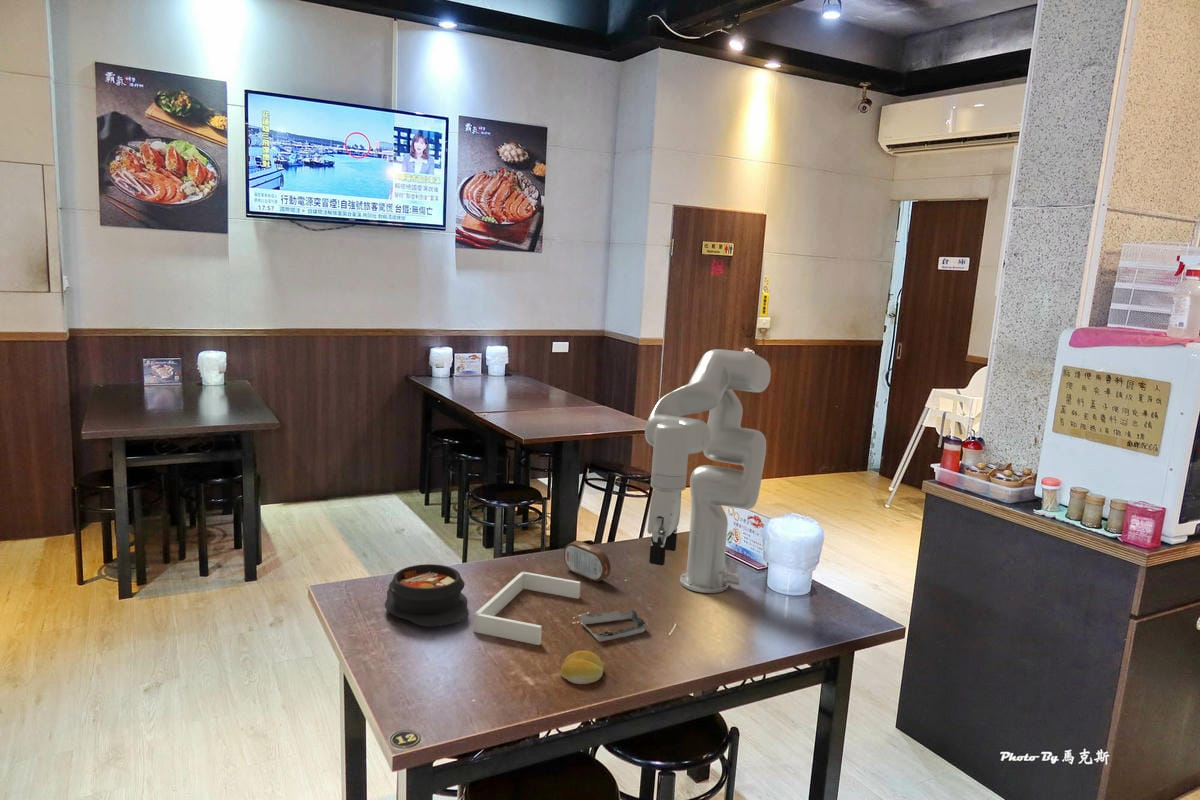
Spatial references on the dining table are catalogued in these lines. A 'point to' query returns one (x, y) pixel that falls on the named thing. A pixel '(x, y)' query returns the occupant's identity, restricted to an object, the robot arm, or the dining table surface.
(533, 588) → the box
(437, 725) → the dining table surface
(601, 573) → the tin
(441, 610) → the casserole
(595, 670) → the bread roll
